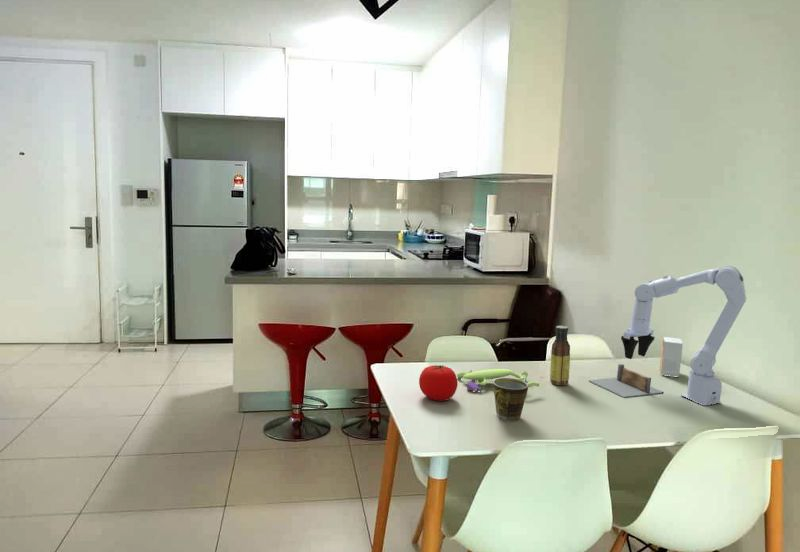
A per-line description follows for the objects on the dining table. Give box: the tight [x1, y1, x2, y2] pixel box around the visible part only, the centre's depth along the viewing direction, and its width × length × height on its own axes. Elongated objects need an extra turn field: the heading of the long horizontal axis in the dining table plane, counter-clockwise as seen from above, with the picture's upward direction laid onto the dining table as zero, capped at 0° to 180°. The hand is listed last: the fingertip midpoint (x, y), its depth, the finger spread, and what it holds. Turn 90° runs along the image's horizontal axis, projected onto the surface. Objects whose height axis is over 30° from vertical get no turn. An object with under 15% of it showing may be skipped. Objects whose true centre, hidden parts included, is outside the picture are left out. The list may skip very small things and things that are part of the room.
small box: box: [659, 336, 684, 377], centre depth 228 cm, size 8×6×13 cm
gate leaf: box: [621, 367, 648, 391], centre depth 211 cm, size 11×1×4 cm, turn 23°
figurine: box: [456, 368, 540, 392], centre depth 206 cm, size 18×27×6 cm
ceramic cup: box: [492, 377, 529, 422], centre depth 178 cm, size 13×10×10 cm
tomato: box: [418, 364, 458, 402], centre depth 191 cm, size 12×12×10 cm
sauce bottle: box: [549, 325, 571, 386], centre depth 211 cm, size 6×6×20 cm
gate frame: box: [588, 363, 663, 399], centre depth 211 cm, size 17×17×6 cm
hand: (634, 356), depth 212 cm, fingers open, 7 cm apart
